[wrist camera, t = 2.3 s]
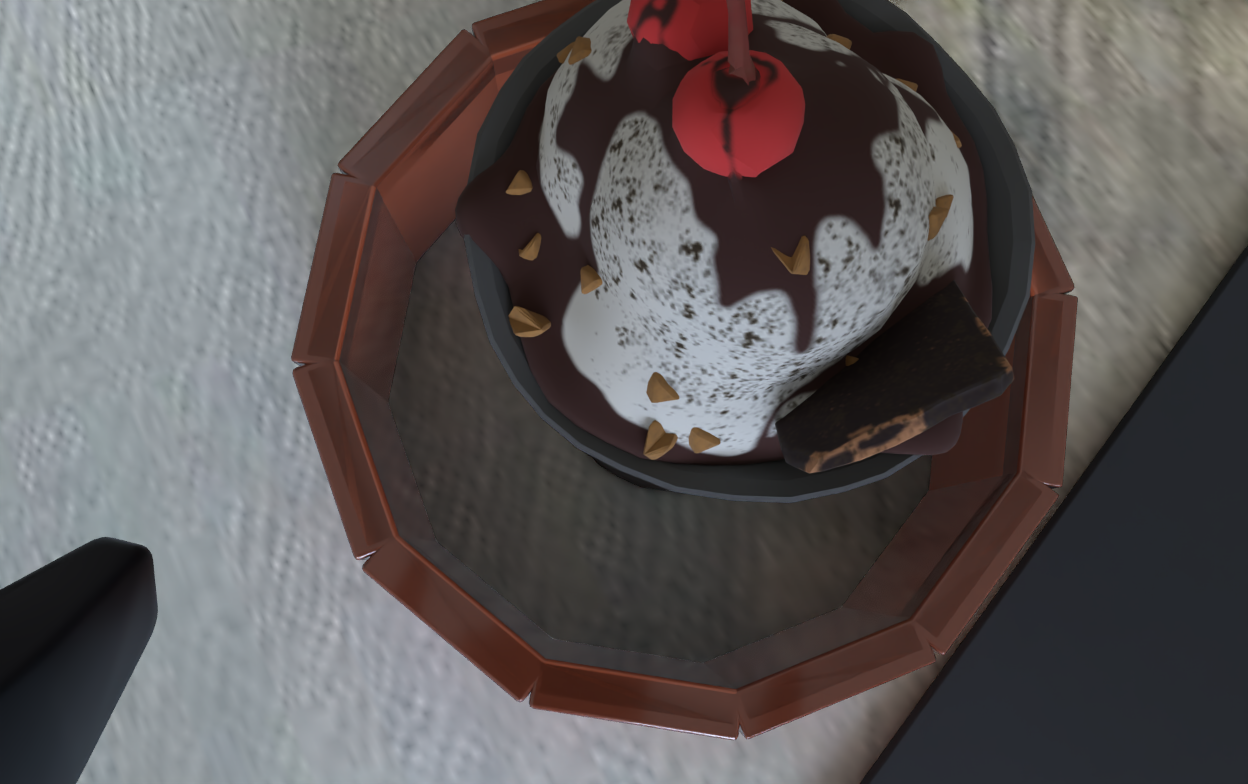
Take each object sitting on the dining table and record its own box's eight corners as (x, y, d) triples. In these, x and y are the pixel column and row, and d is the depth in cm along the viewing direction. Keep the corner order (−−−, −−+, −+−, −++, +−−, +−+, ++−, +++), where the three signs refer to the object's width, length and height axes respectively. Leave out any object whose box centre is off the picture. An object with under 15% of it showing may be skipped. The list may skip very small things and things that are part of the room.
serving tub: (721, 833, 20) (762, 909, 16) (228, 418, 21) (134, 379, 17) (1089, 336, 22) (1216, 279, 18) (624, -20, 23) (635, -160, 19)
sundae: (530, 214, 22) (430, -496, 7) (833, 244, 22) (1335, -387, 7) (496, 515, 21) (298, 400, 6) (816, 545, 21) (1369, 501, 6)
